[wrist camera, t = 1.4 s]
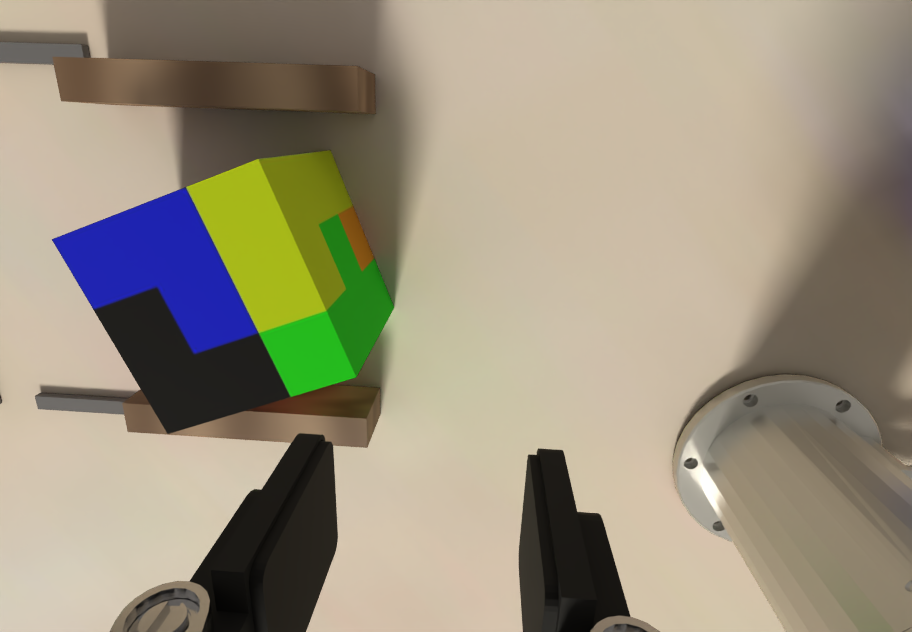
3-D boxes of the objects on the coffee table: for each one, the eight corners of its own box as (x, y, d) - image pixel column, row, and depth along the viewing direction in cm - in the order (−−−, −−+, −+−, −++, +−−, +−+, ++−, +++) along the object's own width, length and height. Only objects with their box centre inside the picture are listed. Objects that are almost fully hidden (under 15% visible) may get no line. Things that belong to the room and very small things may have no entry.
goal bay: (87, 45, 29) (81, 44, 28) (153, 412, 37) (149, 416, 36) (-116, 39, 30) (-126, 38, 29) (-9, 402, 37) (-16, 405, 37)
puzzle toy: (181, 207, 32) (51, 239, 22) (330, 150, 30) (258, 159, 21) (255, 351, 35) (167, 434, 25) (394, 307, 33) (356, 377, 24)
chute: (374, 74, 29) (357, 66, 25) (380, 414, 36) (367, 447, 32) (108, 66, 29) (52, 56, 25) (165, 400, 36) (127, 431, 32)
